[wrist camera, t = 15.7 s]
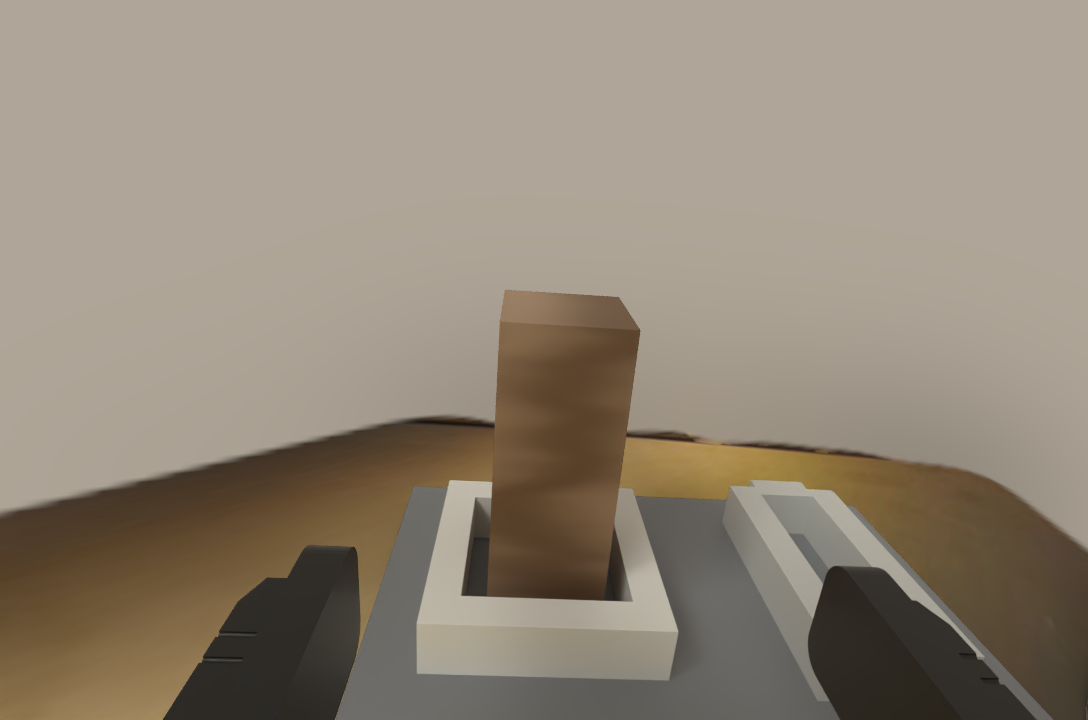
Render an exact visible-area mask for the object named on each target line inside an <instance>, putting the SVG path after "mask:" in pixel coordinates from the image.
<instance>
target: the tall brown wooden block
mask: <svg viewBox="0 0 1088 720" xmlns="http://www.w3.org/2000/svg"><path fill="white" fill-rule="evenodd" d="M639 337H640V329H639V328H638V326H637V325H636V323H635V321H634V320H633V318H632V317H631V315H630V314H629V312H628V311H627V309H626V307H625V306H624V305H623V303H622V301H621V300H620V298H619V297H608V296H606V297H605V296H592V295H576V294H561V293H545V292H529V291H514V290H513V291H512V290H505V293H504V299H503V305H502V312H501V319H500V331H499V353H498V372H497V394H496V395H497V396H496V415H495V435H494V456H493V477H492V498H491V518H490V539H489V560H488V581H487V597H508V598H537V599H566V600H595V601H604V595H605V588H606V581H607V573H608V566H609V558H610V551H611V544H612V536H613V529H614V522H615V514H616V507H617V499H618V492H619V485H620V477H621V470H622V462H623V455H624V448H625V440H626V433H627V425H628V418H629V411H630V403H631V396H632V388H633V381H634V374H635V365H636V359H637V351H638V344H639Z"/></svg>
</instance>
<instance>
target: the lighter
mask: <svg viewBox="0 0 1088 720" xmlns="http://www.w3.org/2000/svg"><path fill="white" fill-rule="evenodd" d="M1086 720H1088V700H1087V705H1086Z"/></svg>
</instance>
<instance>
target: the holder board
mask: <svg viewBox="0 0 1088 720" xmlns="http://www.w3.org/2000/svg"><path fill="white" fill-rule="evenodd" d="M491 498H492V482H479V481H457V480H450V481H449V485H448V488H440V487H418V486H414V488H413V491H412V494H411V496H410V499H409V502H408V505H407V508H406V511H405V514H404V517H403V520H402V523H401V526H400V529H399V532H398V535H397V538H396V541H395V544H394V547H393V550H392V553H391V556H390V559H389V562H388V565H387V568H386V571H385V574H384V577H383V580H382V583H381V586H380V589H379V592H378V595H377V598H376V601H375V604H374V607H373V610H372V613H371V616H370V619H369V622H368V625H367V628H366V631H365V634H364V637H363V640H362V643H361V646H360V649H359V652H358V655H357V658H356V661H355V664H354V667H353V670H352V673H351V676H350V679H349V682H348V685H347V688H346V691H345V694H344V697H343V699H342V702H341V705H340V708H339V711H338V714H337V717H336V720H840V719H839V717H838V715H837V713H836V711H835V710H834V708H833V706H832V704H831V703H830V701H829V699H828V697H827V695H826V694H825V692H824V690H823V688H822V687H821V685H820V683H819V681H818V679H817V678H816V676H815V674H814V671H813V669H812V666H811V663H810V659H809V653H808V635H809V631H810V627H811V624H812V621H813V617H814V614H815V610H816V607H817V604H818V600H819V597H820V593H821V590H822V587H823V583H824V580H825V576H826V574H827V572H828V570H829V569H830V568H831V567H833V566H858V567H878V568H881V569H883V570H885V571H886V572H887V573H888V574H889V575H890V576H891V577H892V578H893V579H894V580H895V582H896V583H897V584H898V585H899V586H900V587H901V588H902V590H903V591H904V592H905V593H906V594H907V595H908V596H909V598H910V599H911V600H917V601H918V602H919V603H921V604H922V605H923V606H925V607H926V608H928V609H929V610H930V611H932V612H933V613H935V614H936V615H937V616H939V617H940V618H941V619H943V620H944V621H946V622H947V623H948V624H950V625H951V626H952V627H953V628H954V629H955V631H956V632H957V633H958V634H959V635H960V636H961V637H962V638H963V639H964V640H965V642H966V643H967V644H968V645H969V646H970V647H971V648H972V649H973V650H974V651H975V653H976V656H977V659H981V660H983V661H984V662H985V664H986V665H987V666H988V667H989V668H990V669H991V670H992V671H993V672H994V673H995V674H996V676H997V677H998V678H999V683H1000V684H1003V685H1006V687H1007V688H1008V689H1009V690H1010V691H1011V692H1012V693H1013V694H1014V695H1015V696H1016V698H1017V699H1018V700H1019V701H1020V702H1021V703H1022V704H1023V705H1024V706H1025V707H1026V709H1027V710H1028V711H1029V712H1030V713H1031V714H1032V715H1033V716H1034V717H1035V718H1036V719H1037V720H1053V719H1052V718H1051V717H1050V716H1049V715H1048V714H1047V712H1046V711H1045V710H1044V709H1043V708H1042V707H1041V706H1040V705H1039V704H1038V703H1037V702H1036V701H1035V700H1034V699H1033V697H1032V696H1031V695H1030V694H1029V693H1028V692H1027V691H1026V690H1025V689H1024V688H1023V687H1022V686H1021V685H1020V684H1019V683H1018V681H1017V680H1016V679H1015V678H1014V677H1013V676H1012V675H1011V674H1010V673H1009V672H1008V671H1007V670H1006V669H1005V668H1004V666H1003V665H1002V664H1001V663H1000V662H999V661H998V660H997V659H996V658H995V657H994V656H993V655H992V654H991V653H990V652H989V650H988V649H987V648H986V647H985V646H984V645H983V644H982V643H981V642H980V641H979V640H978V639H977V638H976V637H975V635H974V634H973V633H972V632H971V631H970V630H969V629H968V628H967V627H966V626H965V625H964V624H963V623H962V622H961V621H960V619H959V618H958V617H957V616H956V615H955V614H954V613H953V612H952V611H951V610H950V609H949V608H948V607H947V606H946V604H945V603H944V602H943V601H942V600H941V599H940V598H939V597H938V596H937V595H936V594H935V593H934V592H933V591H932V590H931V588H930V587H929V586H928V585H927V584H926V583H925V582H924V581H923V580H922V579H921V578H920V577H919V576H918V575H917V573H916V572H915V571H914V570H913V569H912V568H911V567H910V566H909V565H908V564H907V563H906V562H905V561H904V560H903V559H902V557H901V556H900V555H899V554H898V553H897V552H896V551H895V550H894V549H893V548H892V547H891V546H890V545H889V544H888V542H887V541H886V540H885V539H884V538H883V537H882V536H881V535H880V534H879V533H878V532H877V531H876V530H875V529H874V528H873V526H872V525H871V524H870V523H869V522H868V521H867V520H866V519H865V518H864V517H863V516H862V515H861V514H860V513H859V511H858V510H857V509H856V508H855V507H854V506H846V505H845V504H844V503H843V502H842V501H841V500H840V498H839V497H838V496H837V495H836V494H835V493H834V492H833V491H832V490H811V489H806V488H805V487H804V485H803V484H802V483H801V482H786V481H765V480H751V481H750V486H749V487H746V486H730V488H729V493H728V497H727V500H709V499H686V498H664V497H642V496H635V495H634V492H633V489H632V488H619V492H618V499H617V507H616V514H615V522H614V529H613V536H612V544H611V551H610V558H609V566H608V573H607V581H606V588H605V595H604V601H595V600H566V599H537V598H508V597H487V581H488V560H489V539H490V518H491Z"/></svg>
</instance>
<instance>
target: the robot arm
mask: <svg viewBox="0 0 1088 720" xmlns="http://www.w3.org/2000/svg"><path fill="white" fill-rule="evenodd" d="M359 635H360V599H359V578H358V558H357V551H356V549H355V547H343V546H315V545H308V546H306V547H305V548H304V550H303V551H302V553H301V554H300V556H299V558H298V560H297V562H296V563H295V565H294V567H293V569H292V571H291V572H290V574H289V576H288V578H266V579H265V580H264V581H263V582H261V583H260V584H259V585H258V586H256V587H255V588H254V589H253V590H252V591H250V592H249V593H248V594H247V595H246V596H244V597H243V598H242V599H241V600H239V601H238V602H237V604H236V606H235V607H234V609H233V610H232V612H231V613H230V615H229V617H228V618H227V620H226V621H225V623H224V624H223V626H222V628H221V629H220V631H219V636H218V637H215V639H214V640H213V642H212V643H211V645H210V646H209V648H208V650H207V651H206V653H205V654H204V656H203V661H202V663H199V664H198V665H197V667H196V668H195V670H194V671H193V673H192V675H191V676H190V678H189V679H188V681H187V682H186V684H185V686H184V687H183V689H182V690H181V692H180V693H179V695H178V697H177V698H176V700H175V701H174V703H173V704H172V706H171V708H170V709H169V711H168V712H167V714H166V715H165V717H164V719H163V720H335V718H336V715H337V712H338V709H339V706H340V703H341V700H342V697H343V694H344V691H345V688H346V685H347V682H348V679H349V676H350V673H351V670H352V667H353V664H354V660H355V657H356V652H357V648H358V642H359ZM808 653H809V659H810V663H811V666H812V669H813V671H814V674H815V676H816V678H817V679H818V681H819V683H820V685H821V687H822V688H823V690H824V692H825V694H826V695H827V697H828V699H829V701H830V703H831V704H832V706H833V708H834V710H835V711H836V713H837V715H838V717H839V719H840V720H1037V719H1036V718H1035V717H1034V716H1033V715H1032V714H1031V713H1030V712H1029V711H1028V710H1027V709H1026V707H1025V706H1024V705H1023V704H1022V703H1021V702H1020V701H1019V700H1018V699H1017V698H1016V696H1015V695H1014V694H1013V693H1012V692H1011V691H1010V690H1009V689H1008V688H1007V687H1006V685H1003V684H1000V683H999V678H998V677H997V676H996V674H995V673H994V672H993V671H992V670H991V669H990V668H989V667H988V666H987V665H986V664H985V662H984V661H983V660H981V659H977V656H976V653H975V651H974V650H973V649H972V648H971V647H970V646H969V645H968V644H967V643H966V642H965V640H964V639H963V638H962V637H961V636H960V635H959V634H958V633H957V632H956V631H955V629H954V628H953V627H952V626H951V625H950V624H948V623H947V622H946V621H944V620H943V619H941V618H940V617H939V616H937V615H936V614H935V613H933V612H932V611H930V610H929V609H928V608H926V607H925V606H923V605H922V604H921V603H919V602H918V601H917V600H911V599H910V598H909V596H908V595H907V594H906V593H905V592H904V591H903V590H902V588H901V587H900V586H899V585H898V584H897V583H896V582H895V580H894V579H893V578H892V577H891V576H890V575H889V574H888V573H887V572H886V571H885V570H883V569H881V568H878V567H858V566H833V567H831V568H830V569H829V570H828V572H827V574H826V576H825V580H824V583H823V587H822V590H821V593H820V597H819V600H818V604H817V607H816V610H815V614H814V617H813V621H812V624H811V627H810V631H809V635H808Z"/></svg>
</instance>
